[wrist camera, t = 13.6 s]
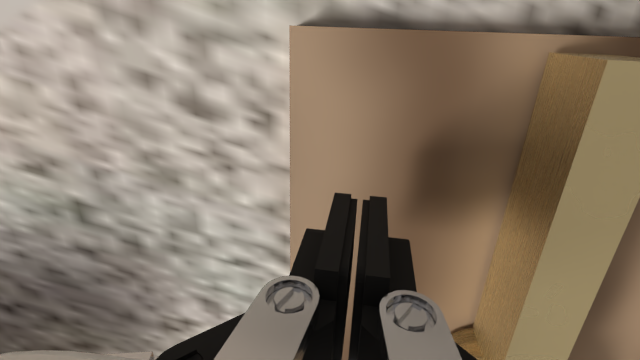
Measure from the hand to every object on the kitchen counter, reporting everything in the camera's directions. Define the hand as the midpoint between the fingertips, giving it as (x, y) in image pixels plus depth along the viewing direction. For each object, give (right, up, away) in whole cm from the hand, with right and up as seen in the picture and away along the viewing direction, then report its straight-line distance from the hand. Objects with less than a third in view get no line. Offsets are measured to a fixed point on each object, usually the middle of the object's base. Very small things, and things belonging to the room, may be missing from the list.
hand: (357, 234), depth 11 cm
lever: (+6, -2, +2) cm, 7 cm away
